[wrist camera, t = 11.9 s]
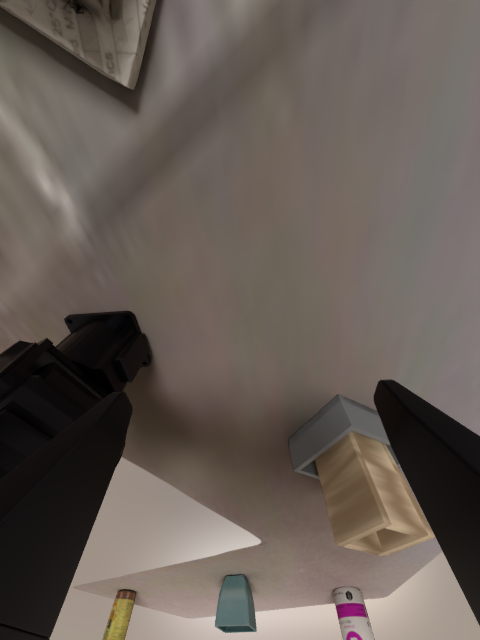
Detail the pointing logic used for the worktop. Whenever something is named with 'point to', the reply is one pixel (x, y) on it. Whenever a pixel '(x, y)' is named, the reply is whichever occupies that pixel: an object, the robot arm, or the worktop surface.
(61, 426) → the robot arm
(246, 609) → the flower pot
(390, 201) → the worktop surface
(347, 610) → the supplement can
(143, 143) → the worktop surface
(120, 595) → the sauce bottle
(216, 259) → the worktop surface
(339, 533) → the tall pine crate
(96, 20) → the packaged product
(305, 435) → the grey square tray
